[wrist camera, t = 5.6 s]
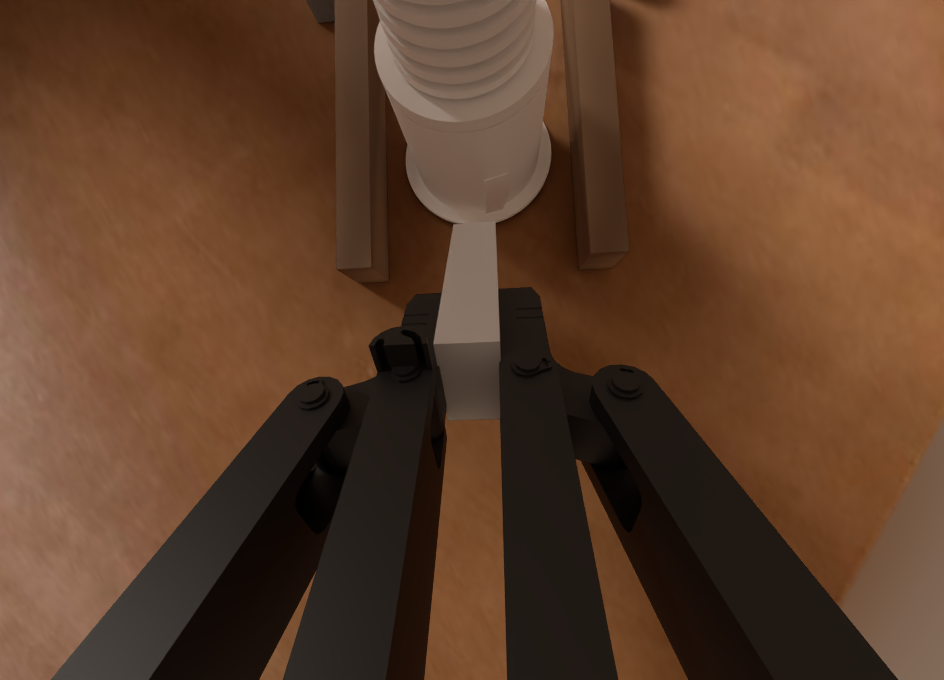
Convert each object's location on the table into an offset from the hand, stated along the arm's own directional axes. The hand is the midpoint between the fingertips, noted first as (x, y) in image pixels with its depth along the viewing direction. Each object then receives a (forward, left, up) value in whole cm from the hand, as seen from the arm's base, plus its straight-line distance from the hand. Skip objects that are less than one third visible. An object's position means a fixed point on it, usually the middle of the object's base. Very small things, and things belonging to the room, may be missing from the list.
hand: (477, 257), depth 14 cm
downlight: (0, +6, -4) cm, 7 cm away
